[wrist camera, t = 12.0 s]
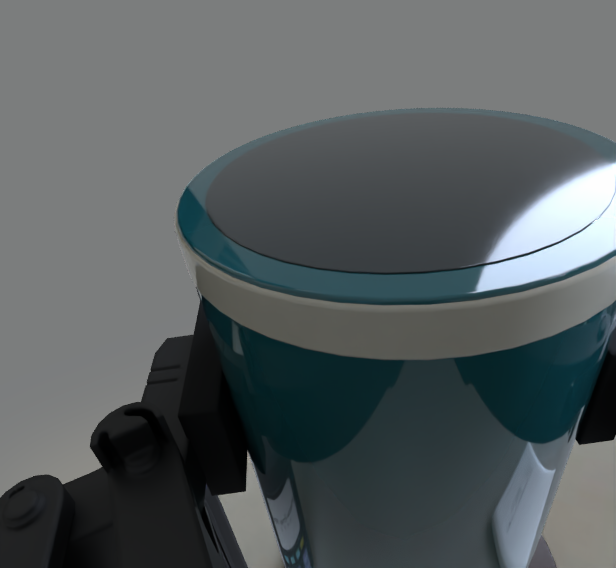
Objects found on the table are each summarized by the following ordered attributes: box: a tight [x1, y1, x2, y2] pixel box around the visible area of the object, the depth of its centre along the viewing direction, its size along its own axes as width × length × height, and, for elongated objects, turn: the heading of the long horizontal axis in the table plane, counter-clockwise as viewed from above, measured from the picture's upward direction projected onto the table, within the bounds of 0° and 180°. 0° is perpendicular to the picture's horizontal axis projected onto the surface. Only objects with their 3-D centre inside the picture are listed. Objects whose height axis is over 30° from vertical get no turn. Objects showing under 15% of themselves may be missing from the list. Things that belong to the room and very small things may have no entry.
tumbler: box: [174, 108, 616, 568], centre depth 11 cm, size 8×8×11 cm
